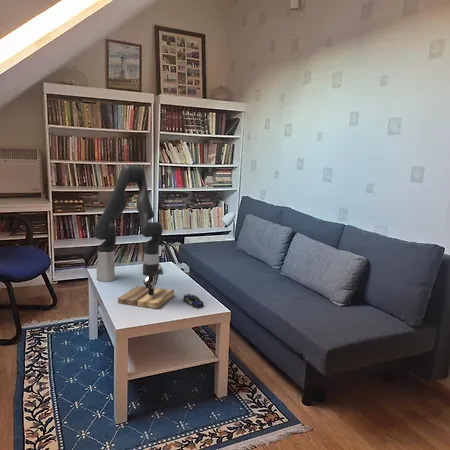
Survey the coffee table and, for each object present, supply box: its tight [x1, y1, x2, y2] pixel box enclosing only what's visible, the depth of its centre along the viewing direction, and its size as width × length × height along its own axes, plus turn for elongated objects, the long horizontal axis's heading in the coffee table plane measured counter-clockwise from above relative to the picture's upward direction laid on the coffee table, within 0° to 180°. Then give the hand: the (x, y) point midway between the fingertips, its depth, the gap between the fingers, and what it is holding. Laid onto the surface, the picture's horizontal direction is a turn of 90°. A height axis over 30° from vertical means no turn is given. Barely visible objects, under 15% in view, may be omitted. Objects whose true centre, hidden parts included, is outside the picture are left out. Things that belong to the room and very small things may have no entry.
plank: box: [136, 287, 175, 309], centre depth 201 cm, size 11×20×3 cm, turn 164°
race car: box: [182, 293, 205, 310], centre depth 199 cm, size 15×7×4 cm, turn 45°
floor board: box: [117, 285, 149, 307], centre depth 204 cm, size 10×20×3 cm, turn 164°
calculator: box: [142, 263, 162, 276], centre depth 251 cm, size 11×4×15 cm
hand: (151, 294), depth 202 cm, fingers closed
